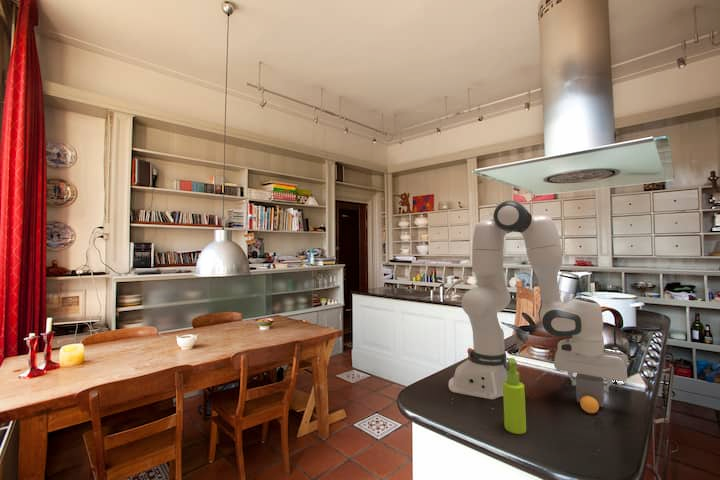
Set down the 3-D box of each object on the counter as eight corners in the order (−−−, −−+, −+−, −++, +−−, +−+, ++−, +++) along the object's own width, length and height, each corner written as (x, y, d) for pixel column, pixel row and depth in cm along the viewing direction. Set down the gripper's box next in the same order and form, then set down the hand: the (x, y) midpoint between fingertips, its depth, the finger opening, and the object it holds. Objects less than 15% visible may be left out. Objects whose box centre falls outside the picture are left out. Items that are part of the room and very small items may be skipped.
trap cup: (603, 407, 110) (601, 382, 110) (576, 401, 114) (575, 377, 114) (604, 398, 115) (603, 375, 115) (579, 393, 120) (578, 370, 120)
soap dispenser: (522, 422, 104) (519, 356, 105) (528, 434, 98) (525, 364, 98) (502, 421, 106) (499, 356, 106) (506, 432, 99) (503, 363, 99)
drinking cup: (634, 387, 127) (631, 333, 127) (611, 386, 128) (608, 332, 129) (622, 379, 134) (620, 328, 135) (601, 378, 136) (598, 327, 136)
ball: (584, 403, 113) (584, 416, 110) (577, 392, 112) (576, 404, 109) (601, 404, 110) (601, 417, 106) (594, 392, 109) (594, 405, 105)
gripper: (627, 349, 110) (629, 392, 110) (555, 340, 123) (557, 378, 123) (627, 354, 106) (629, 399, 105) (552, 344, 118) (554, 384, 118)
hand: (589, 388), depth 114 cm, fingers closed on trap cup, 7 cm apart
